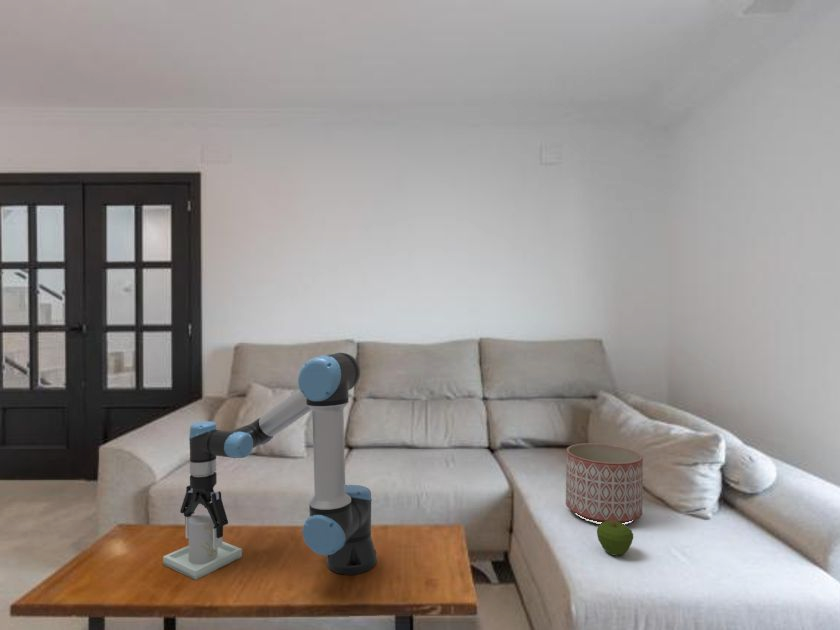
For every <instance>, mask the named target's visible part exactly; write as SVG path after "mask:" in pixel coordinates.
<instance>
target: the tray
mask: <svg viewBox="0 0 840 630" xmlns="http://www.w3.org/2000/svg"><path fill="white" fill-rule="evenodd" d="M242 557H243V548H240V547H239V546H235V545H233V544H230V543H227V542H225V541H223V540H222V546H221V547H219V548H217V558H216V559H214V560H213V561H211V562H208V563H204V564H192V563H190V562H189V545H187V546H184V547H182V548H179V549H178V550H175V551H172V552H170V553H168V554H166V555H163V556H162V565H163V566H165V567H166V568H170V569H172V570H173V571H175V572H177V573H179V574H181V575H184V576H186V577H188V578H190V579H192V580H193V581H196V580H199V579H201V578H202V577H205V576H206V575H208V574H211V573H213V572H214V571H216V570H218V569H220V568H222V567H224V566H227V565H228V564H230V563H232V562H234V561H236V560H239V559H241V558H242Z"/></svg>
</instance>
